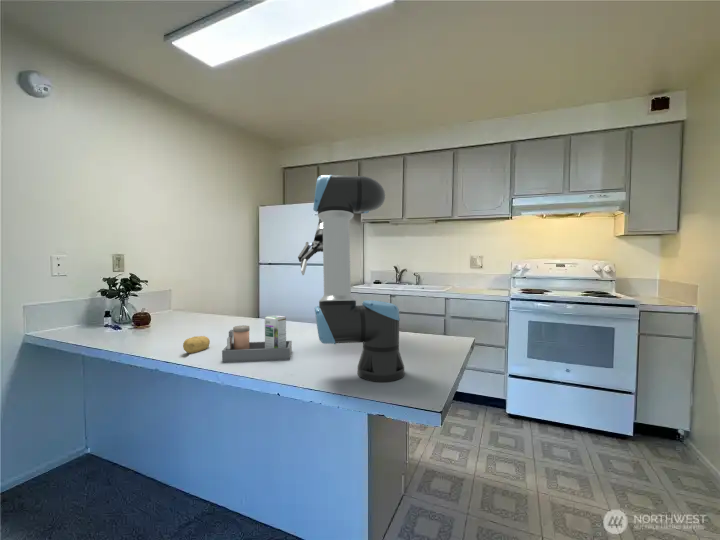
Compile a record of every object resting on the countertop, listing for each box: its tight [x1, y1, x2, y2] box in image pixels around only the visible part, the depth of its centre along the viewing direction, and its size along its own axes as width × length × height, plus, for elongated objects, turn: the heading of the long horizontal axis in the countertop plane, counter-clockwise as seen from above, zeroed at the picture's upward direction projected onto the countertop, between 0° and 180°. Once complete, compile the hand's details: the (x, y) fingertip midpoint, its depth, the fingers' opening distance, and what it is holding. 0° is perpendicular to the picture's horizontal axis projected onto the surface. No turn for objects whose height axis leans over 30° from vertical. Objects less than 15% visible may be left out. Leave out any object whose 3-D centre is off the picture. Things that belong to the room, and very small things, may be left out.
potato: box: [182, 335, 211, 354], centre depth 133 cm, size 7×11×6 cm, turn 155°
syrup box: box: [264, 315, 287, 349], centre depth 125 cm, size 6×6×14 cm
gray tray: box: [221, 340, 293, 363], centre depth 124 cm, size 23×11×5 cm, turn 98°
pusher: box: [226, 329, 234, 350], centre depth 123 cm, size 1×8×9 cm, turn 7°
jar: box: [232, 325, 250, 350], centre depth 123 cm, size 6×6×11 cm
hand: (314, 272), depth 136 cm, fingers open, 10 cm apart
